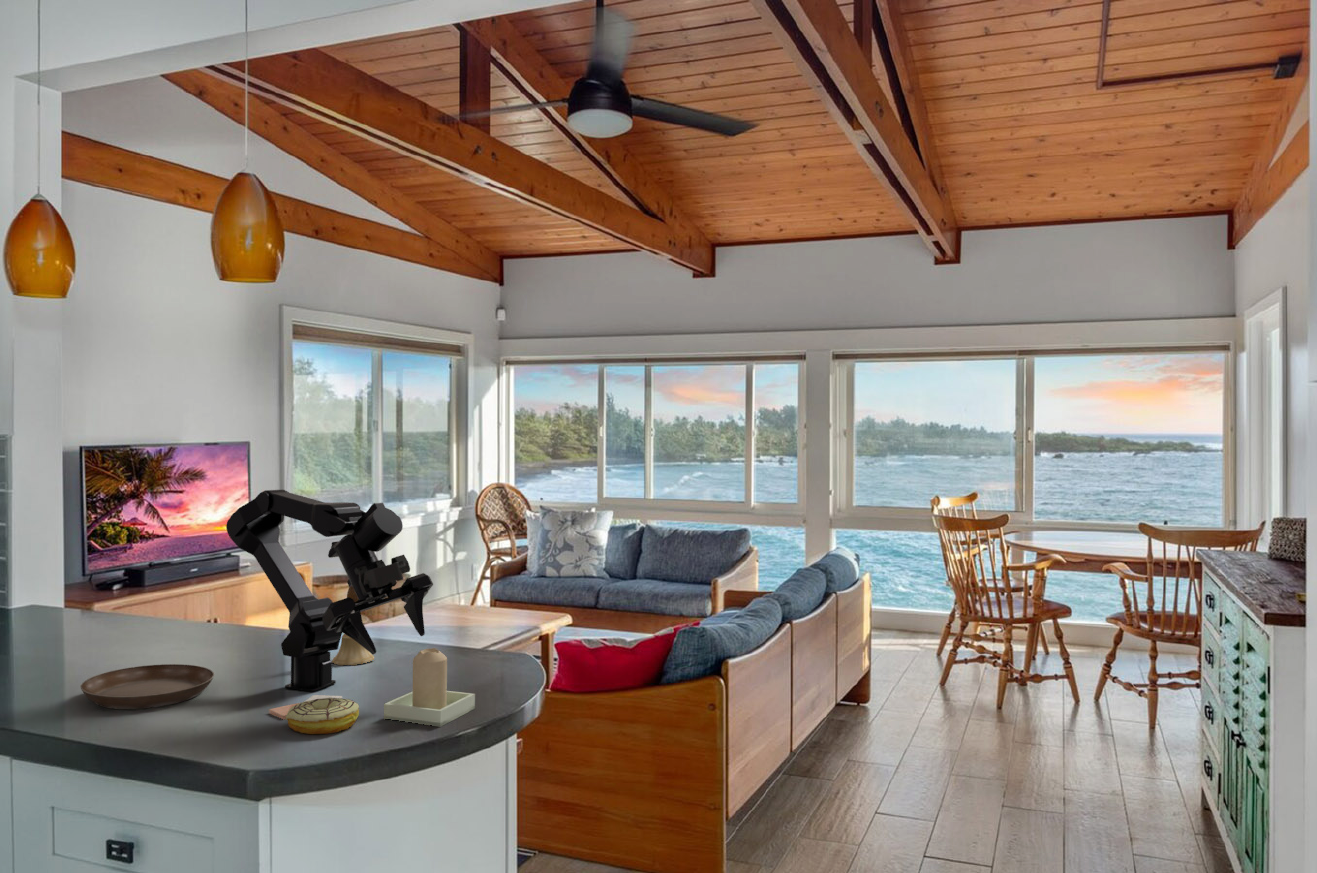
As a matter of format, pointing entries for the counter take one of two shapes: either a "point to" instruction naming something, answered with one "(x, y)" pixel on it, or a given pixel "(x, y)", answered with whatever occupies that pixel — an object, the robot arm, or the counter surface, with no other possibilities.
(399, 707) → the tray
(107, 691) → the plant saucer
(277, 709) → the tile terracotta
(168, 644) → the counter surface
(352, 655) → the hand bell
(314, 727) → the decorated donut
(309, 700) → the tile white
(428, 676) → the candle
